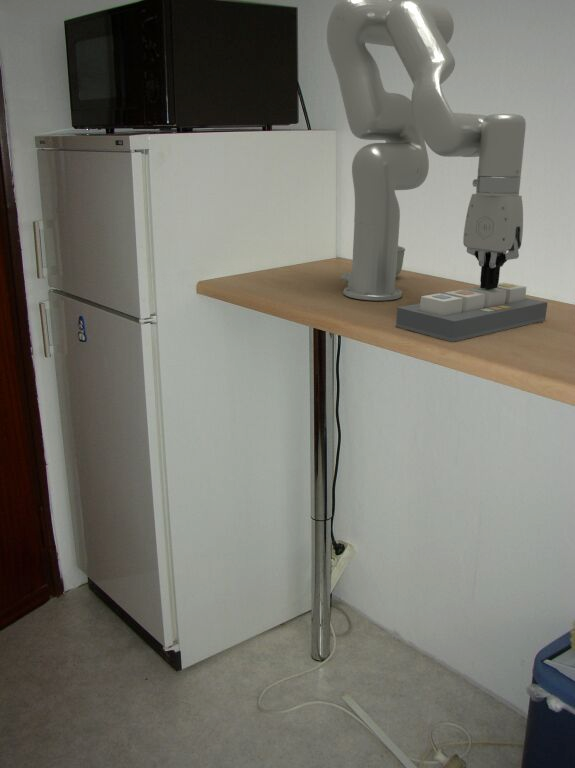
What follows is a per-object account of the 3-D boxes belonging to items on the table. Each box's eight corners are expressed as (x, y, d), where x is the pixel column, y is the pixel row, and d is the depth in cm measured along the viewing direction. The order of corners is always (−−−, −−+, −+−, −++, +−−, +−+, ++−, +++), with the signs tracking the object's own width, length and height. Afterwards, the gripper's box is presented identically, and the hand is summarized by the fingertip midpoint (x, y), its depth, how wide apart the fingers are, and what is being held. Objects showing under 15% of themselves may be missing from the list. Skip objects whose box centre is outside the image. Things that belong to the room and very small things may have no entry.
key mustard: (486, 300, 148) (487, 284, 147) (502, 297, 152) (503, 281, 151) (508, 305, 145) (510, 288, 144) (524, 302, 148) (526, 286, 147)
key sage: (465, 304, 144) (466, 287, 143) (481, 301, 148) (483, 285, 147) (487, 309, 141) (489, 292, 140) (504, 306, 144) (506, 289, 143)
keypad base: (395, 326, 139) (397, 306, 138) (489, 308, 156) (491, 289, 155) (452, 342, 130) (454, 320, 129) (545, 320, 147) (547, 301, 146)
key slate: (419, 312, 136) (420, 295, 135) (438, 309, 140) (439, 292, 139) (442, 318, 133) (444, 300, 132) (461, 314, 136) (462, 297, 135)
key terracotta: (442, 308, 140) (444, 291, 139) (460, 305, 144) (462, 288, 143) (465, 313, 137) (467, 296, 136) (483, 310, 140) (485, 293, 139)
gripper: (451, 185, 140) (444, 284, 146) (521, 189, 129) (511, 296, 135) (476, 184, 145) (468, 280, 150) (546, 188, 134) (535, 291, 139)
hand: (488, 287), depth 143 cm, fingers closed
